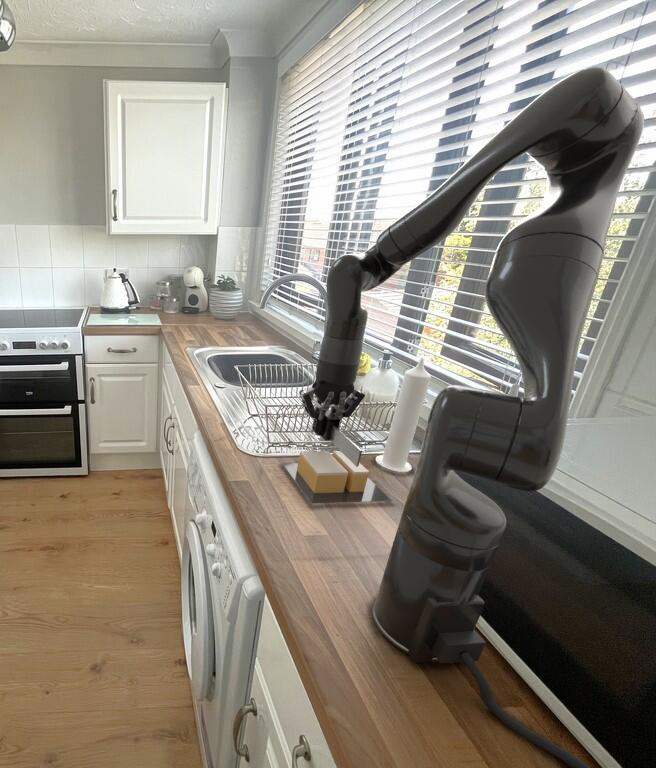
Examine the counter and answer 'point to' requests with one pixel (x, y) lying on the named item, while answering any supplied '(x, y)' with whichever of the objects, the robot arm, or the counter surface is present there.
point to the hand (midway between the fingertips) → (323, 433)
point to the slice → (352, 473)
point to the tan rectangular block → (322, 472)
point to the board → (368, 495)
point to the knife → (340, 438)
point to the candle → (405, 419)
